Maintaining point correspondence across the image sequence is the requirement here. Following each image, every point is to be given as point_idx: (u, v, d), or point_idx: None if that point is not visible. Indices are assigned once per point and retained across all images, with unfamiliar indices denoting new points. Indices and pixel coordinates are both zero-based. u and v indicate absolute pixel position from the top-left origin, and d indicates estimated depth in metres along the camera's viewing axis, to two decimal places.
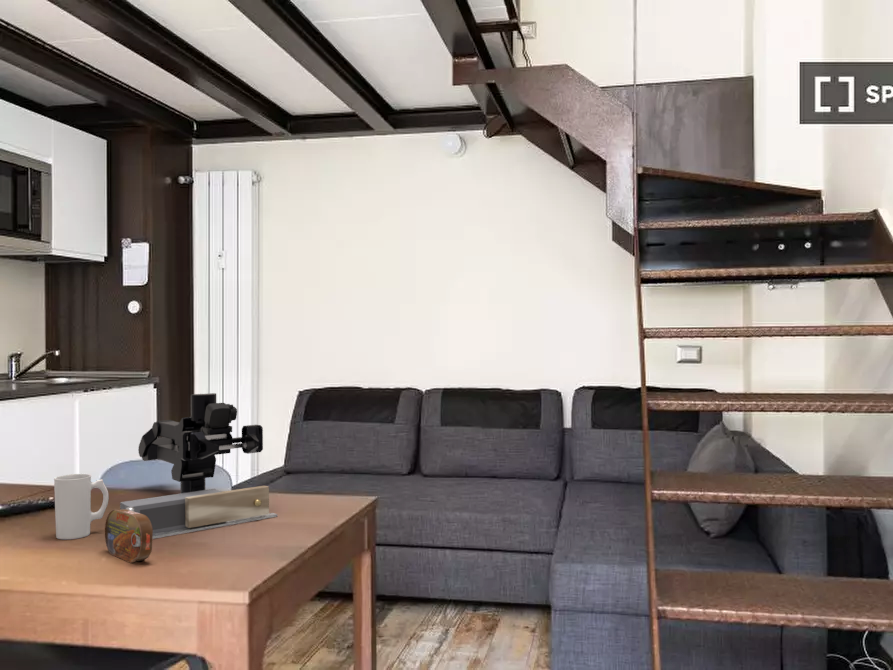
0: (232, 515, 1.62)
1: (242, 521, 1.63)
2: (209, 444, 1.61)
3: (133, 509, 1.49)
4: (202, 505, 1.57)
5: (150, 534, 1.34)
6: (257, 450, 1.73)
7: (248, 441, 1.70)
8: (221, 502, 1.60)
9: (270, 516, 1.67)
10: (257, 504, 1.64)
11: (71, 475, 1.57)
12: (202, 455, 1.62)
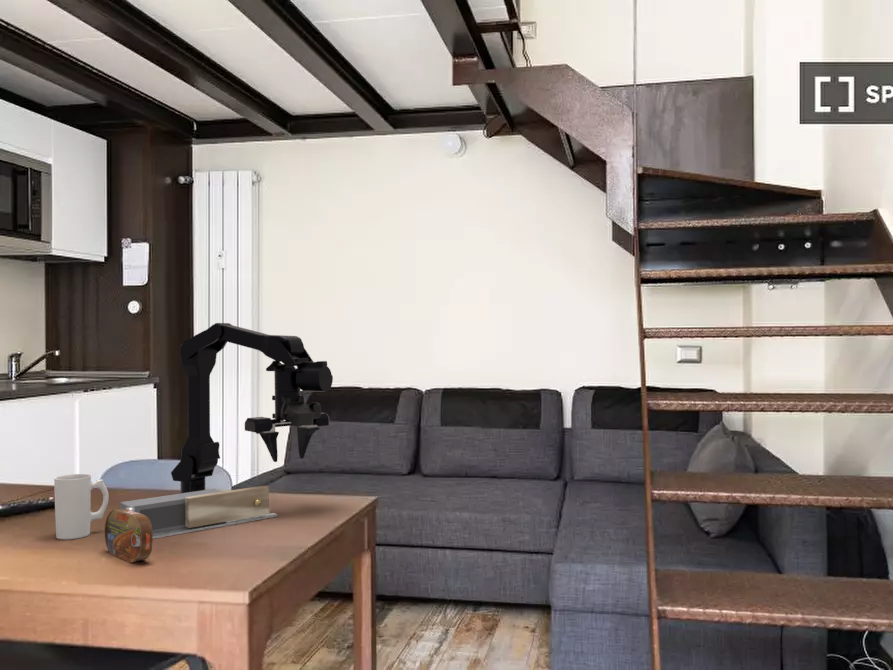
0: (232, 515, 1.62)
1: (242, 521, 1.63)
2: (272, 451, 1.68)
3: (133, 509, 1.49)
4: (202, 505, 1.57)
5: (150, 534, 1.34)
6: None
7: (302, 433, 1.74)
8: (221, 502, 1.60)
9: (270, 516, 1.67)
10: (257, 504, 1.64)
11: (71, 475, 1.57)
12: (264, 441, 1.70)
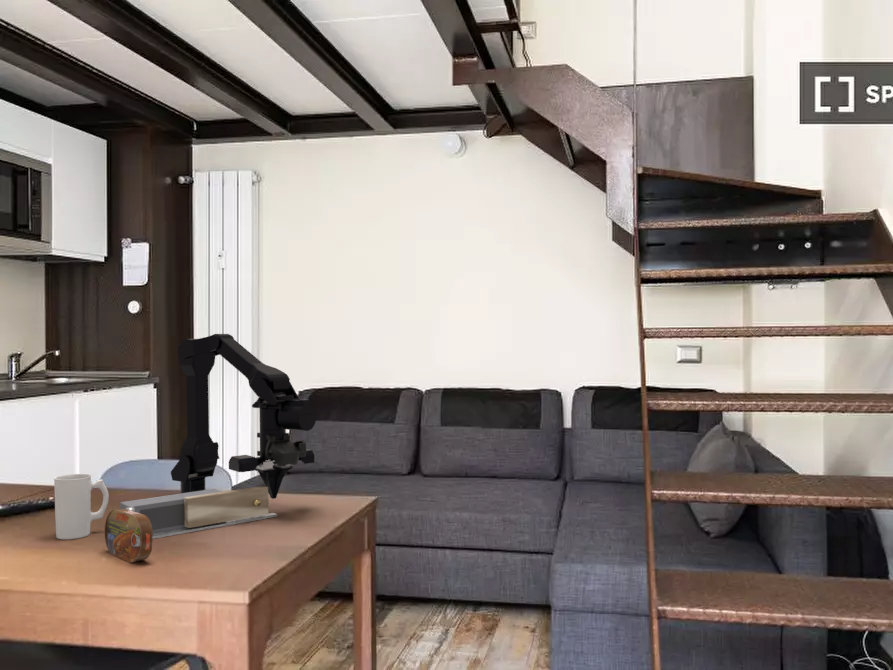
0: (231, 515, 1.62)
1: (242, 521, 1.63)
2: (270, 488, 1.68)
3: (133, 509, 1.49)
4: (201, 505, 1.57)
5: (150, 534, 1.34)
6: None
7: (275, 472, 1.69)
8: (220, 502, 1.60)
9: (270, 516, 1.67)
10: (256, 504, 1.64)
11: (71, 475, 1.57)
12: (262, 477, 1.69)
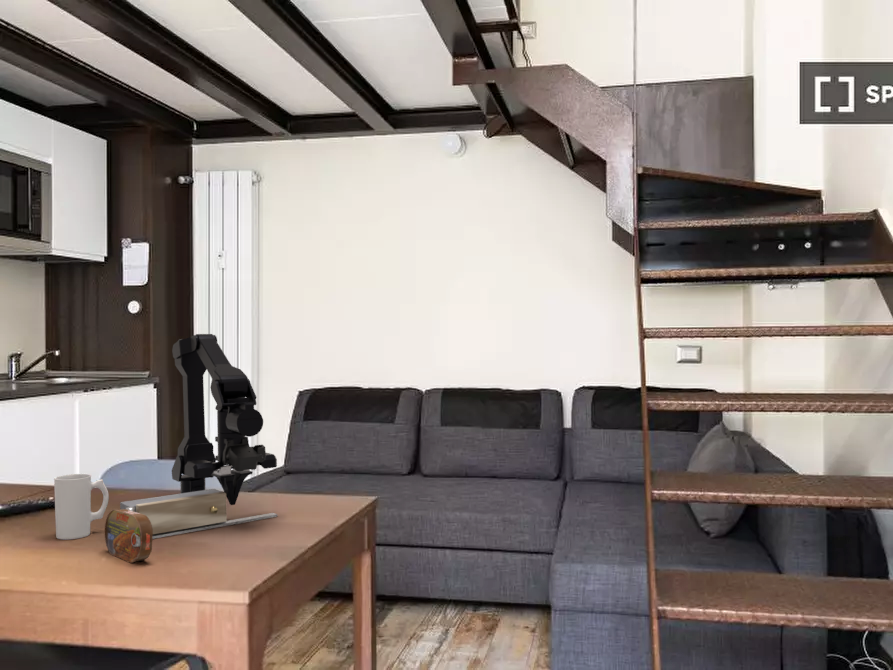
0: (186, 523, 1.55)
1: (242, 521, 1.63)
2: (228, 494, 1.61)
3: (133, 509, 1.49)
4: (154, 513, 1.51)
5: (150, 534, 1.34)
6: None
7: (234, 478, 1.63)
8: (174, 510, 1.54)
9: (270, 516, 1.67)
10: (213, 511, 1.58)
11: (71, 475, 1.57)
12: (220, 483, 1.63)
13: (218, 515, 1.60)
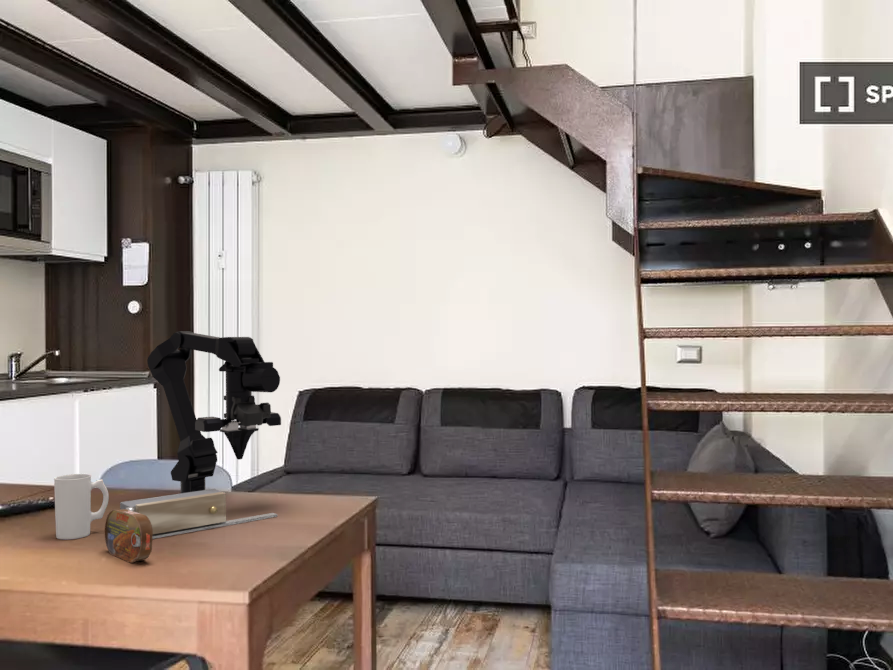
0: (186, 523, 1.55)
1: (242, 521, 1.63)
2: (236, 449, 1.73)
3: (133, 509, 1.49)
4: (153, 513, 1.51)
5: (150, 534, 1.34)
6: None
7: (241, 434, 1.74)
8: (174, 510, 1.54)
9: (270, 516, 1.67)
10: (213, 511, 1.58)
11: (71, 475, 1.57)
12: (228, 439, 1.74)
13: (218, 515, 1.60)
